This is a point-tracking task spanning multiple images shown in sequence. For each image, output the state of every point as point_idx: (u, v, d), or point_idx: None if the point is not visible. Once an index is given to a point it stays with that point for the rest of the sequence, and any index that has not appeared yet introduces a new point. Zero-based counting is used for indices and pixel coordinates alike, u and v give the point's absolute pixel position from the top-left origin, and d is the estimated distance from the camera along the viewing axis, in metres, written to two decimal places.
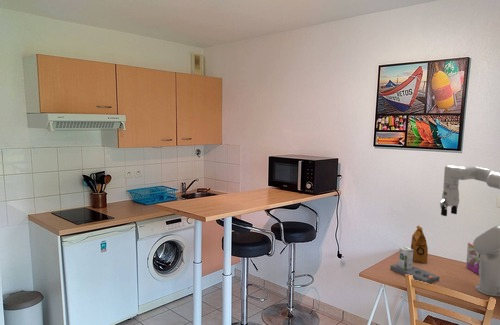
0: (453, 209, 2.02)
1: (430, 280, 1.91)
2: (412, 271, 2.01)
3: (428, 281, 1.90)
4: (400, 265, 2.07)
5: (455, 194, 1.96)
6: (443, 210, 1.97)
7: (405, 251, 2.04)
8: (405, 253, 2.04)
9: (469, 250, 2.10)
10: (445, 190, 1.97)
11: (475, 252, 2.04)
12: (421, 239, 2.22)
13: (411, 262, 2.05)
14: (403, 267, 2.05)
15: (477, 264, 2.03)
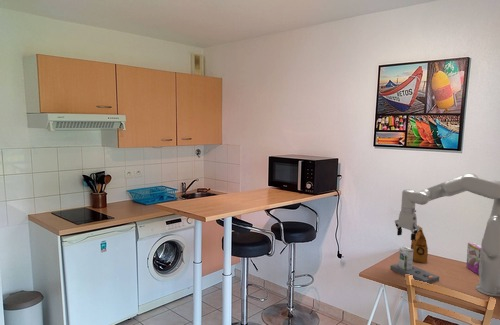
0: (400, 231, 2.10)
1: (430, 280, 1.91)
2: (412, 271, 2.01)
3: (428, 281, 1.90)
4: (400, 265, 2.07)
5: None
6: (414, 235, 2.00)
7: (405, 251, 2.04)
8: (405, 253, 2.04)
9: (469, 250, 2.10)
10: (413, 215, 2.00)
11: (475, 252, 2.04)
12: (421, 239, 2.22)
13: (411, 262, 2.05)
14: (403, 267, 2.05)
15: (477, 264, 2.03)
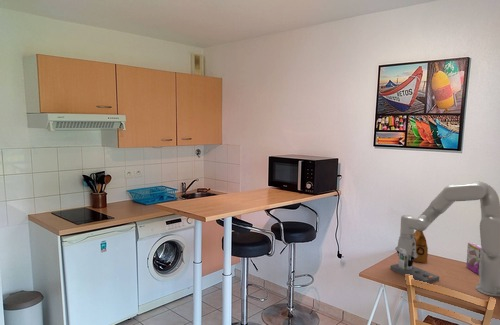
0: None
1: (430, 280, 1.91)
2: (412, 271, 2.01)
3: (428, 281, 1.90)
4: (400, 265, 2.07)
5: None
6: (412, 261, 2.03)
7: (405, 251, 2.04)
8: (405, 253, 2.04)
9: (469, 250, 2.10)
10: (412, 241, 2.02)
11: (475, 252, 2.04)
12: (421, 239, 2.22)
13: None
14: (403, 267, 2.05)
15: (477, 264, 2.03)
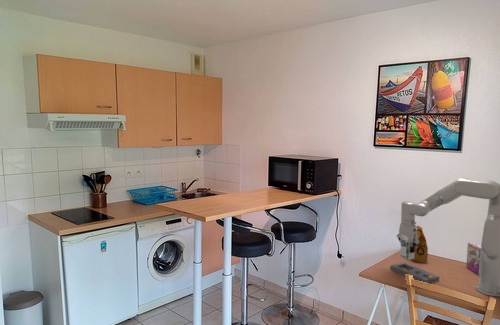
0: None
1: (430, 280, 1.91)
2: (412, 271, 2.01)
3: (428, 281, 1.90)
4: (402, 252, 2.06)
5: None
6: (413, 247, 2.02)
7: (406, 238, 2.03)
8: (407, 239, 2.02)
9: (469, 250, 2.10)
10: (414, 227, 2.01)
11: (475, 252, 2.04)
12: (421, 239, 2.22)
13: None
14: (405, 254, 2.04)
15: (477, 264, 2.03)
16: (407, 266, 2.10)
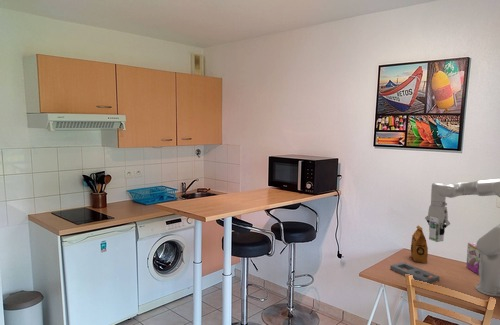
0: None
1: (430, 280, 1.91)
2: (412, 271, 2.01)
3: (428, 281, 1.90)
4: (431, 234, 2.02)
5: None
6: (443, 229, 1.98)
7: (436, 219, 1.98)
8: (436, 221, 1.98)
9: (469, 250, 2.10)
10: (444, 208, 1.96)
11: (475, 252, 2.04)
12: (421, 239, 2.22)
13: None
14: (434, 236, 2.00)
15: (477, 264, 2.03)
16: (407, 266, 2.10)
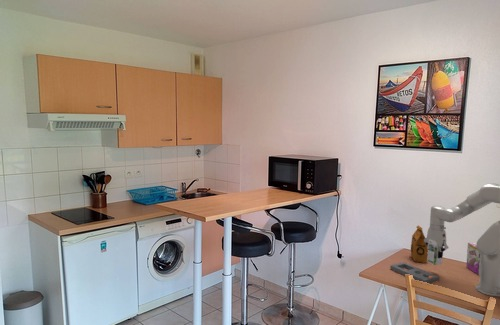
0: None
1: (430, 280, 1.91)
2: (412, 271, 2.01)
3: (428, 281, 1.90)
4: (429, 257, 2.03)
5: None
6: (442, 253, 1.99)
7: (435, 242, 2.00)
8: (435, 244, 2.00)
9: (469, 250, 2.10)
10: (443, 232, 1.98)
11: (475, 252, 2.04)
12: (421, 239, 2.22)
13: None
14: (433, 259, 2.01)
15: (477, 264, 2.03)
16: (407, 266, 2.10)
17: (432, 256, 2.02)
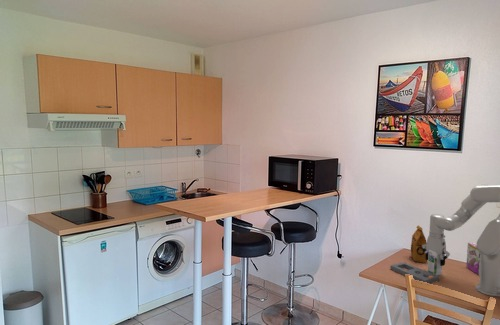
0: None
1: (430, 280, 1.91)
2: (412, 271, 2.01)
3: (428, 281, 1.90)
4: (429, 267, 2.04)
5: None
6: (444, 260, 1.98)
7: (435, 253, 2.00)
8: (435, 255, 2.00)
9: (469, 250, 2.10)
10: (442, 240, 1.98)
11: (475, 252, 2.04)
12: (421, 239, 2.22)
13: None
14: (433, 269, 2.02)
15: (477, 264, 2.03)
16: (407, 266, 2.10)
17: (432, 267, 2.02)
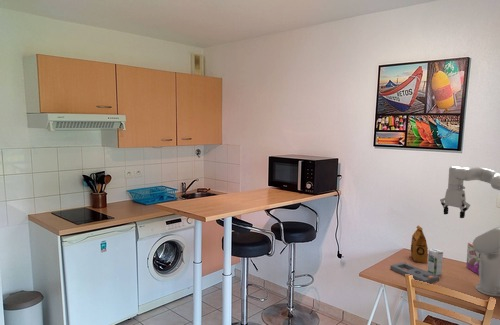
0: (446, 210, 2.02)
1: (430, 280, 1.91)
2: (412, 271, 2.01)
3: (428, 281, 1.90)
4: (429, 267, 2.04)
5: None
6: (464, 212, 1.93)
7: (435, 253, 2.00)
8: (435, 255, 2.00)
9: (469, 250, 2.10)
10: (462, 192, 1.93)
11: (475, 252, 2.04)
12: (421, 239, 2.22)
13: (441, 265, 2.02)
14: (433, 269, 2.02)
15: (477, 264, 2.03)
16: (407, 266, 2.10)
17: (432, 267, 2.02)
